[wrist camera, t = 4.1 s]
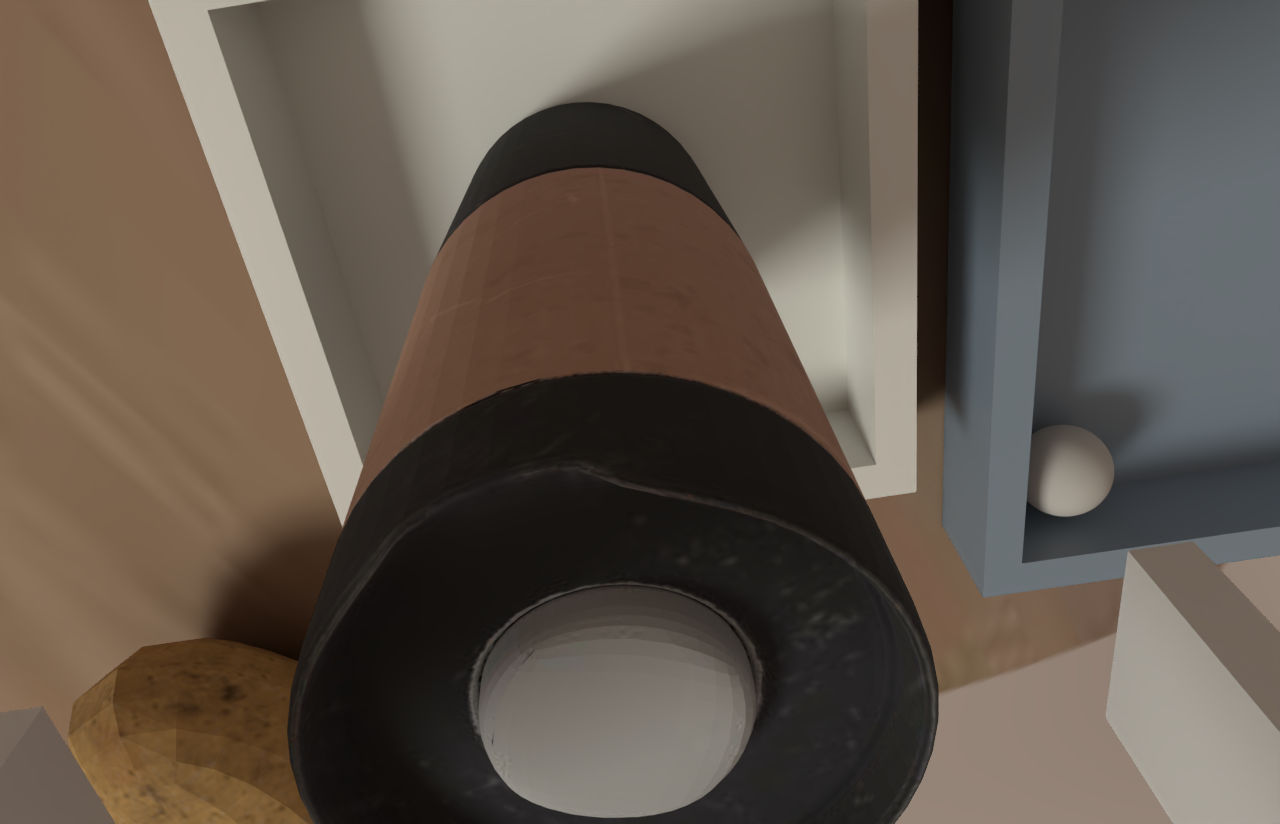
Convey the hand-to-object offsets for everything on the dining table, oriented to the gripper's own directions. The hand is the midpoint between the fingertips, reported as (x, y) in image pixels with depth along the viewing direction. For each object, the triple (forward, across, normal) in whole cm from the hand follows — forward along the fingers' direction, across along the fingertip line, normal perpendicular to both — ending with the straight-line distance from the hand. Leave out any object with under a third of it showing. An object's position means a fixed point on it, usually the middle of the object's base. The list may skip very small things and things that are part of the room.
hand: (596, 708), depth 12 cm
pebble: (+18, +14, -10) cm, 25 cm away
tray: (+19, 0, 0) cm, 19 cm away
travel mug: (+19, 0, 0) cm, 19 cm away
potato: (+19, -15, -17) cm, 29 cm away
